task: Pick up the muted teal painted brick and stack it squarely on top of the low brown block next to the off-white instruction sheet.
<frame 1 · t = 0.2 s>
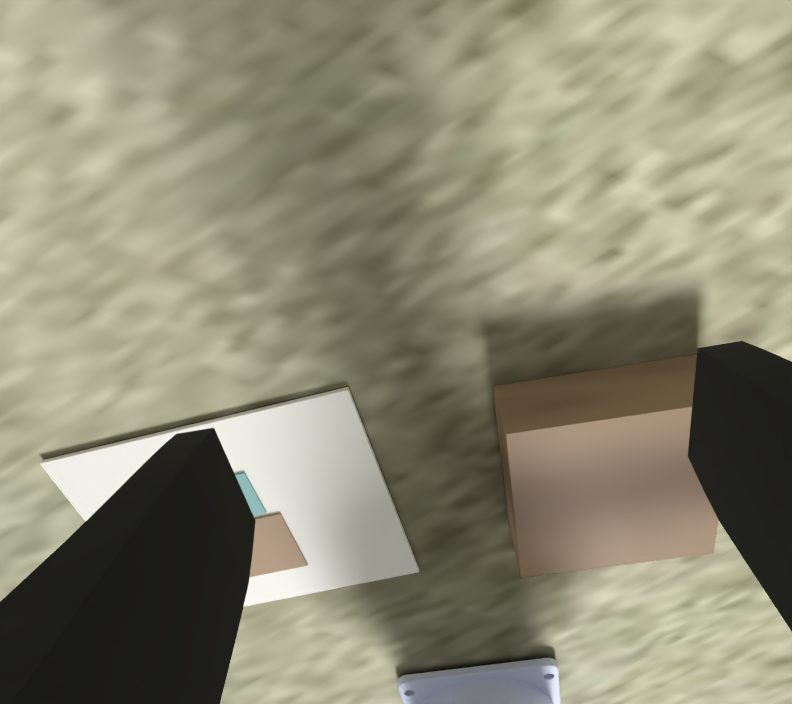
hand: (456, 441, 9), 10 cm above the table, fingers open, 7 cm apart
instruction sheet: (244, 518, 24), on the table
brown block: (591, 440, 22), on the table
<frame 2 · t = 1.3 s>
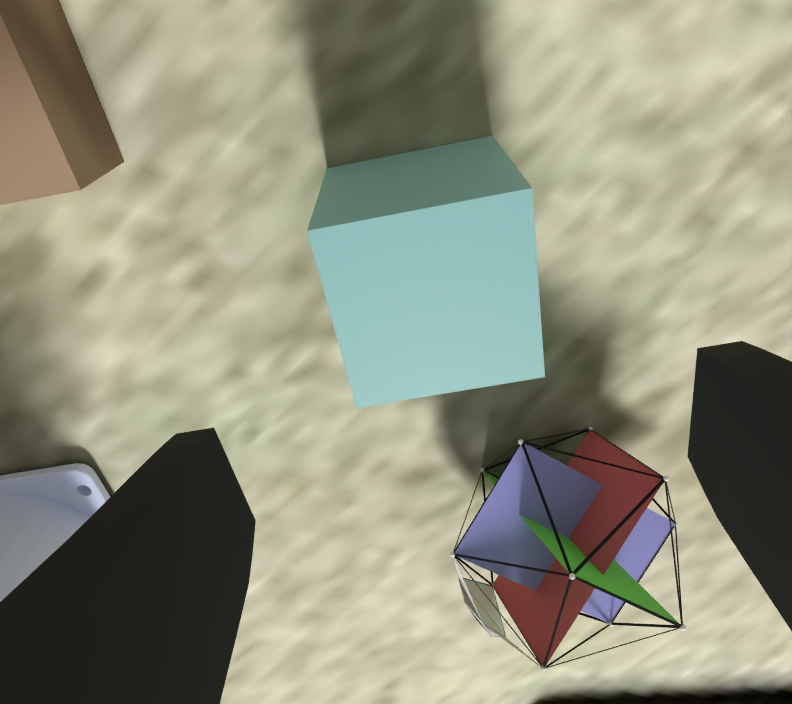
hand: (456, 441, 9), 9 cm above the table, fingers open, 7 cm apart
geometric puzzle: (544, 466, 22), on the table
teal brick: (422, 230, 17), on the table
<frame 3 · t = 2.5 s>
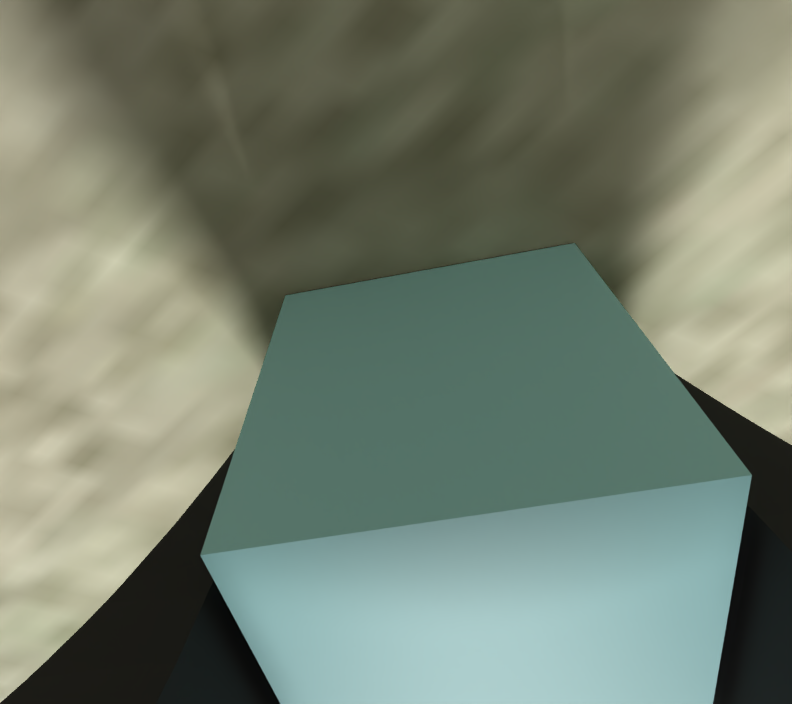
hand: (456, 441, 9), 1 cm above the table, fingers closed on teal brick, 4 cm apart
teal brick: (447, 387, 10), on the table, touching gripper
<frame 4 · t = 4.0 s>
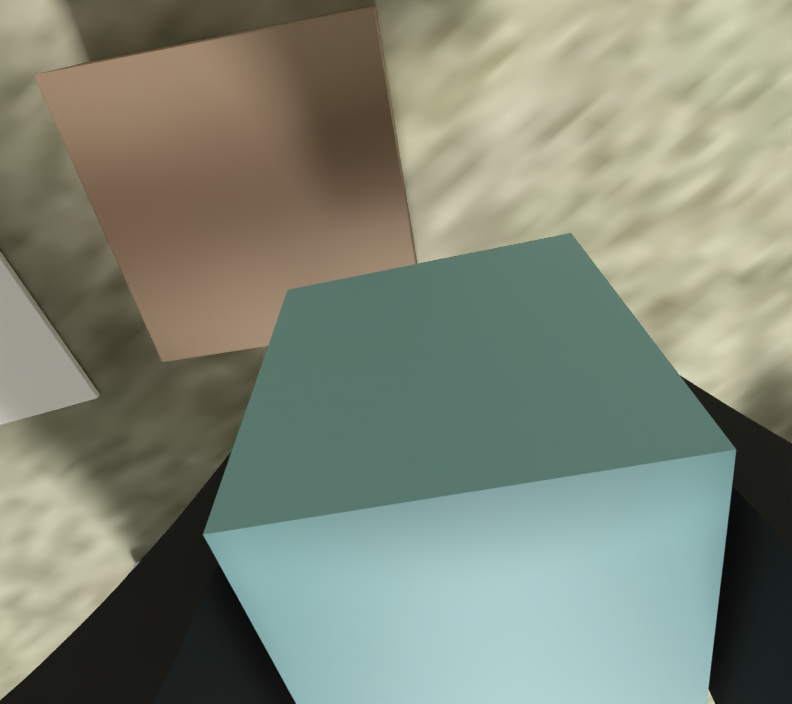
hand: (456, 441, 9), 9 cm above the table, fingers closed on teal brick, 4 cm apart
teal brick: (448, 379, 10), point 7 cm above the table, touching gripper
brown block: (273, 177, 16), on the table
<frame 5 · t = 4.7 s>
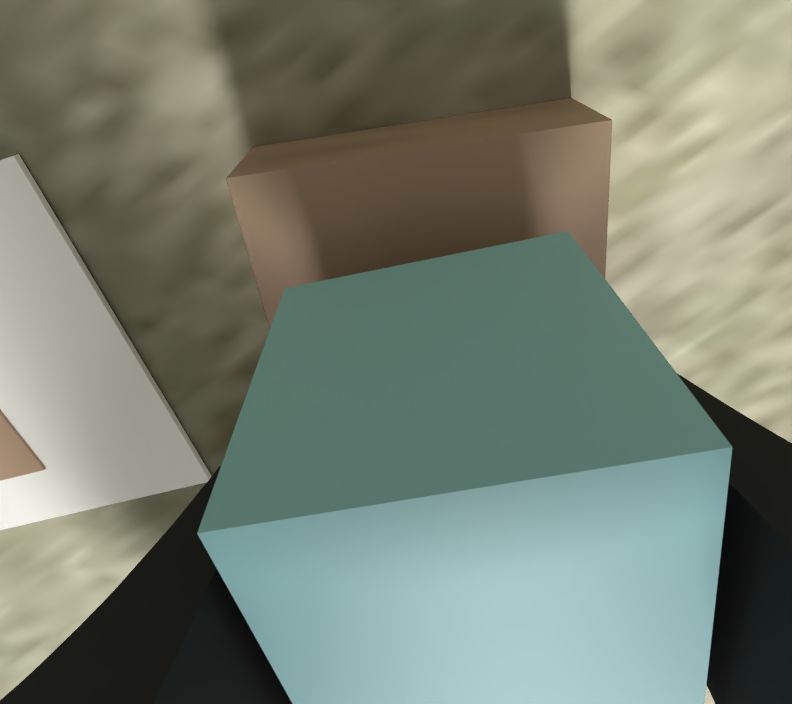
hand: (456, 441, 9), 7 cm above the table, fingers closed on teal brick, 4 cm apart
teal brick: (446, 377, 10), point 5 cm above the table, touching gripper
brown block: (427, 264, 15), on the table
when the fingers open (5 cm above the table, at t = 5.4 s): teal brick drops 1 cm, resting on brown block.
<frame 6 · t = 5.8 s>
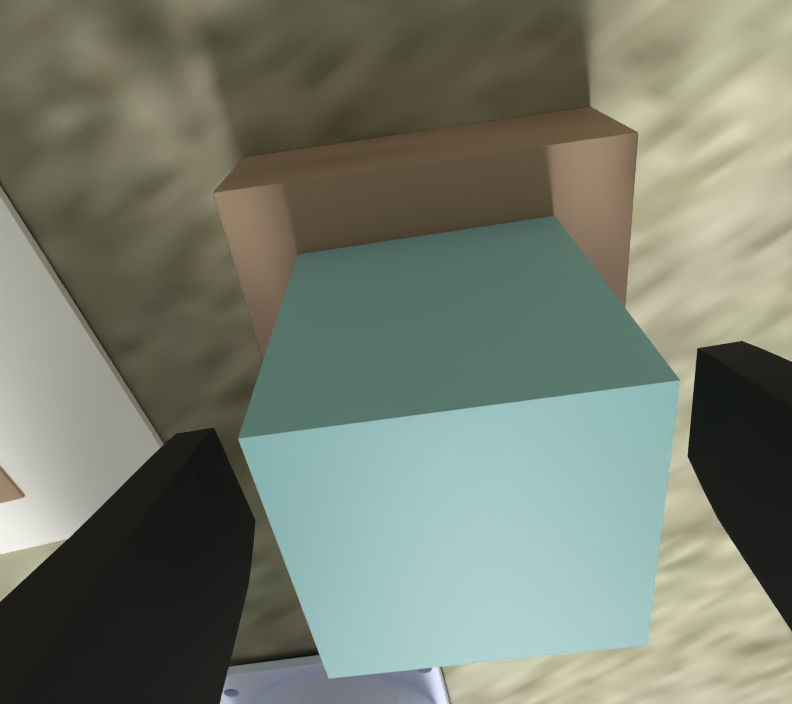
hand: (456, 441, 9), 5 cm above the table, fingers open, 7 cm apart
teal brick: (438, 345, 11), point 3 cm above the table, touching brown block
brown block: (431, 281, 14), on the table, touching teal brick
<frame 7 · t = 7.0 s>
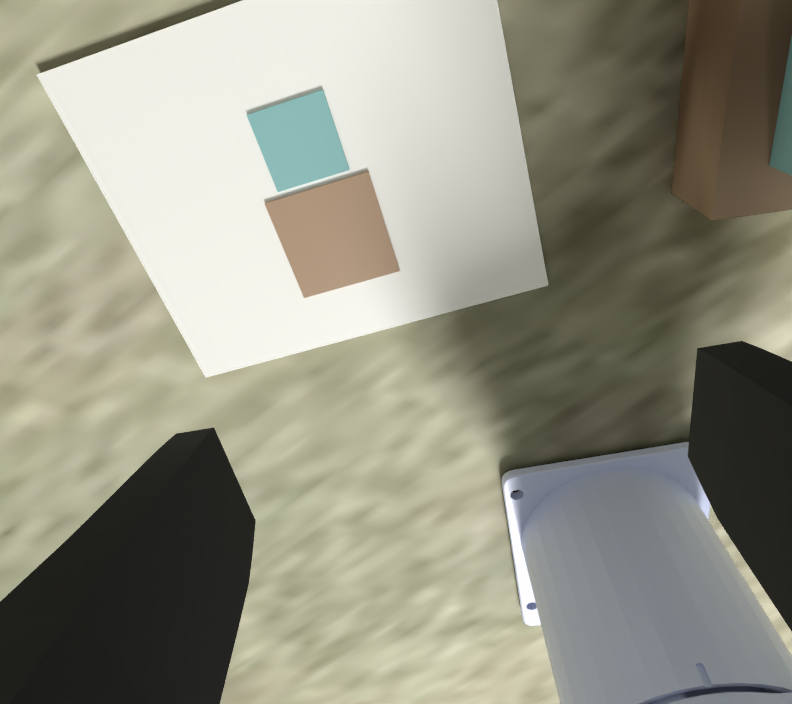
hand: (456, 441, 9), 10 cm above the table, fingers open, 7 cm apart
instruction sheet: (317, 188, 17), on the table
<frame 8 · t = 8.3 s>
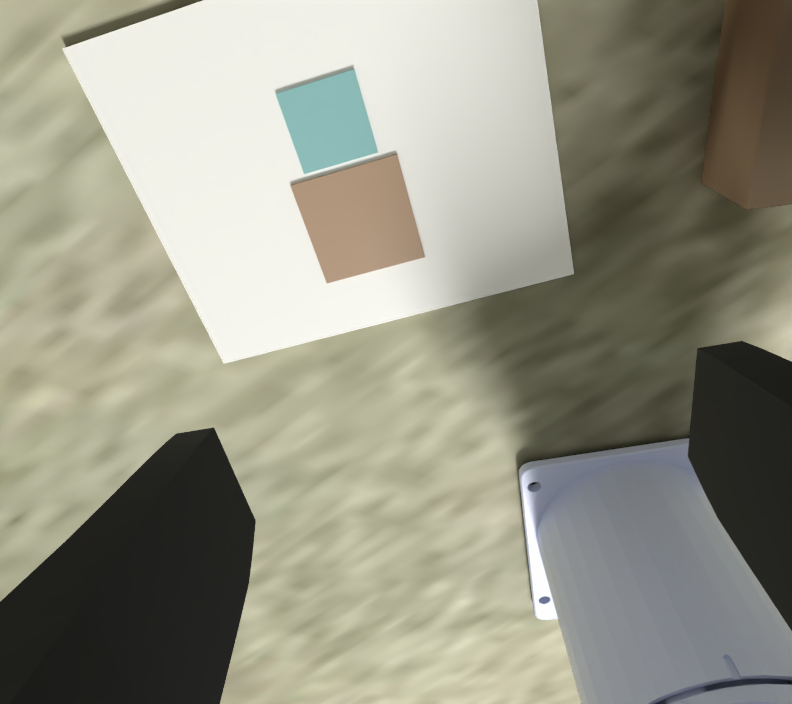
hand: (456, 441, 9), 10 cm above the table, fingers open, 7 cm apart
instruction sheet: (344, 171, 17), on the table
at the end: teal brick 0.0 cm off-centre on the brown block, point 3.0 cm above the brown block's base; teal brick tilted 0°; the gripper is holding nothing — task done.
